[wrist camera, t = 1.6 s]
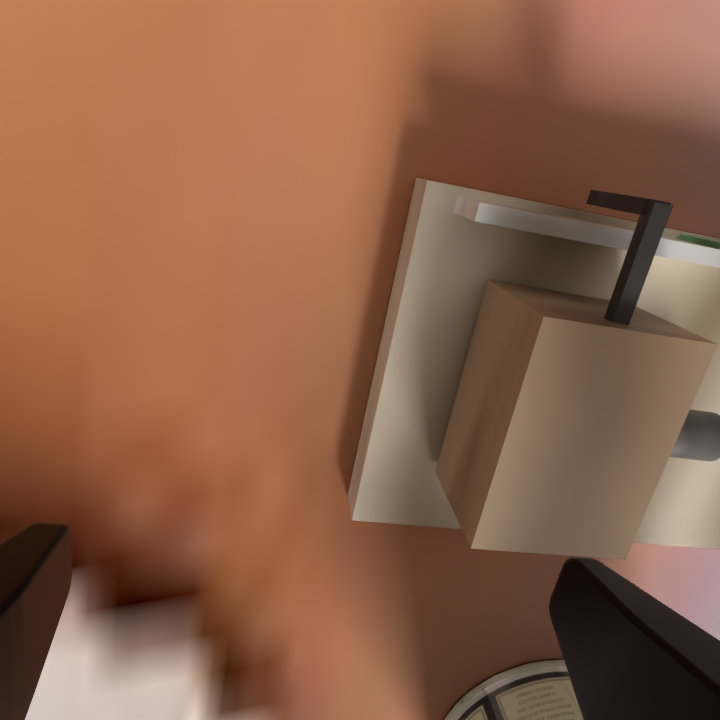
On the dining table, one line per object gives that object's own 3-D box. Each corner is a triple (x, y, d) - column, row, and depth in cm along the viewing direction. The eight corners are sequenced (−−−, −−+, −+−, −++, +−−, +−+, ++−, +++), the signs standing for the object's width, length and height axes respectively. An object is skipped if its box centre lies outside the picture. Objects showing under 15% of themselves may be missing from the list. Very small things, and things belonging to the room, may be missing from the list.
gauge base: (952, 285, 22) (1132, 324, 17) (812, 536, 26) (927, 622, 21) (415, 177, 18) (463, 189, 13) (347, 496, 22) (365, 592, 17)
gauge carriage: (747, 223, 18) (869, 244, 14) (635, 492, 21) (709, 565, 18) (516, 174, 16) (585, 184, 13) (435, 472, 20) (470, 548, 16)
